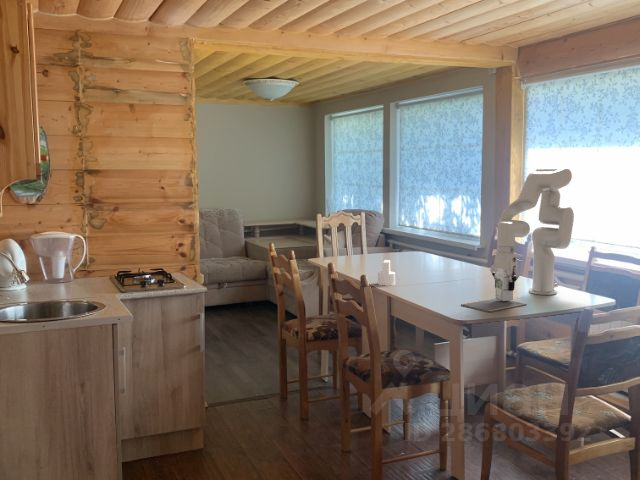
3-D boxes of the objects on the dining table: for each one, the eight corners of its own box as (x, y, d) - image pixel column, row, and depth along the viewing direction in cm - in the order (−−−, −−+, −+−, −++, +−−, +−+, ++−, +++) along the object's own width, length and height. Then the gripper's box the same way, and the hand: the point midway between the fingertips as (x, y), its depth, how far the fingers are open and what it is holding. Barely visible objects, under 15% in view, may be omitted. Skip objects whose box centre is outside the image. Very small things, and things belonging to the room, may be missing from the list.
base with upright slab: (394, 286, 325) (394, 262, 323) (376, 285, 327) (377, 262, 325) (396, 282, 334) (396, 260, 332) (378, 282, 335) (379, 259, 334)
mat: (497, 298, 294) (497, 297, 294) (526, 305, 281) (526, 303, 281) (460, 305, 280) (460, 304, 280) (489, 312, 267) (489, 310, 267)
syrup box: (513, 300, 284) (514, 268, 282) (501, 301, 282) (502, 268, 280) (506, 297, 289) (507, 266, 287) (494, 298, 287) (495, 266, 286)
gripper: (527, 251, 278) (526, 291, 280) (495, 246, 292) (494, 285, 294) (516, 252, 274) (514, 293, 276) (484, 248, 288) (483, 287, 290)
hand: (504, 288), depth 285 cm, fingers closed on syrup box, 6 cm apart
